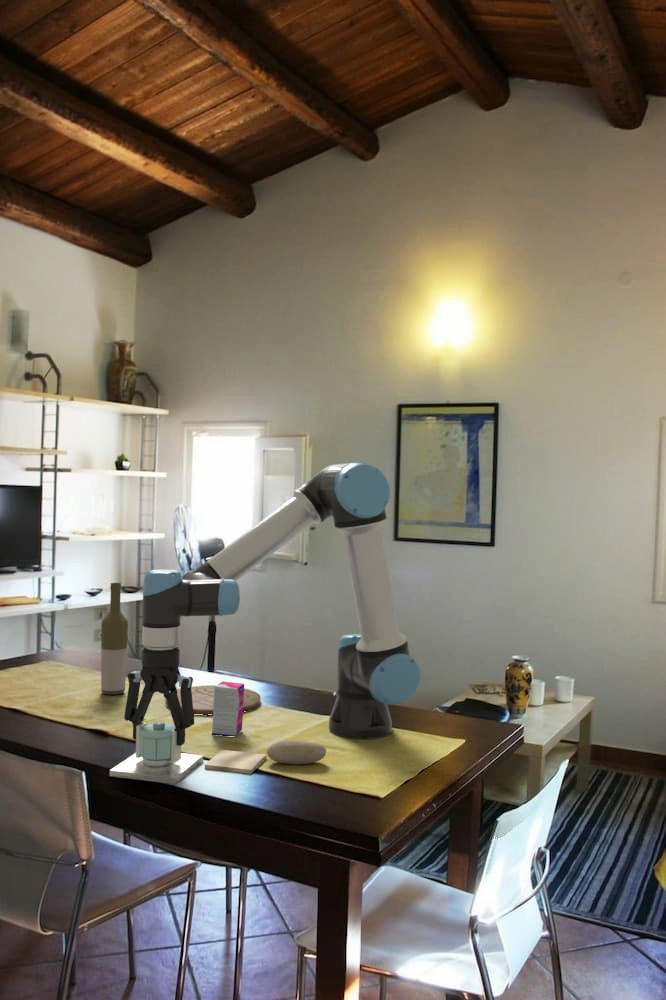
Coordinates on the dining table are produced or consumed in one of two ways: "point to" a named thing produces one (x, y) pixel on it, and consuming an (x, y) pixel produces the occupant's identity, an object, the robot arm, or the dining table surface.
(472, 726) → the dining table surface
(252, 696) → the trivet
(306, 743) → the stone
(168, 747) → the cap
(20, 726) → the dining table surface
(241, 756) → the coaster
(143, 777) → the post
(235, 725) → the supplement box
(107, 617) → the bottle
